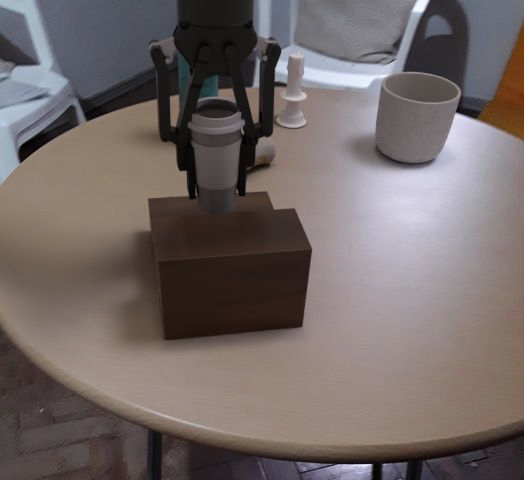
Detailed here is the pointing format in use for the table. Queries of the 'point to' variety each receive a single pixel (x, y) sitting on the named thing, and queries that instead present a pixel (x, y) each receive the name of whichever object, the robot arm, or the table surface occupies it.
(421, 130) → the planter
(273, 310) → the step shelf
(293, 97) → the candle
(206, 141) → the cup
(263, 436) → the table surface
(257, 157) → the floral vase
